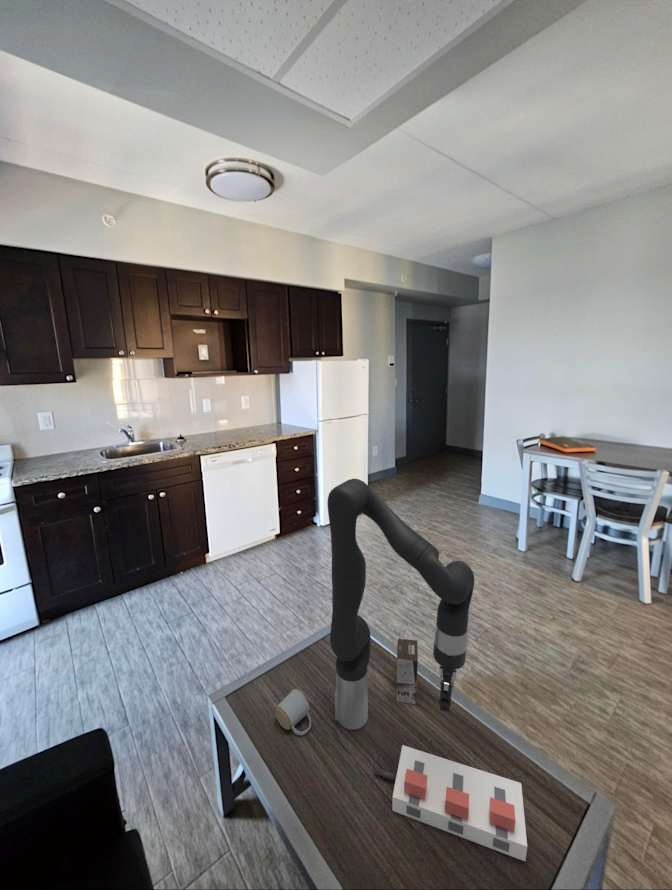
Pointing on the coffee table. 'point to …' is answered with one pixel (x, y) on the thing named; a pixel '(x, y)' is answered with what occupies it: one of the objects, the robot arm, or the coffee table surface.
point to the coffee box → (407, 671)
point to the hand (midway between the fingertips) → (445, 696)
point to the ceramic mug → (293, 711)
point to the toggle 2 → (457, 803)
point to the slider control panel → (479, 792)
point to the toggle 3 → (502, 814)
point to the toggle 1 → (415, 784)
